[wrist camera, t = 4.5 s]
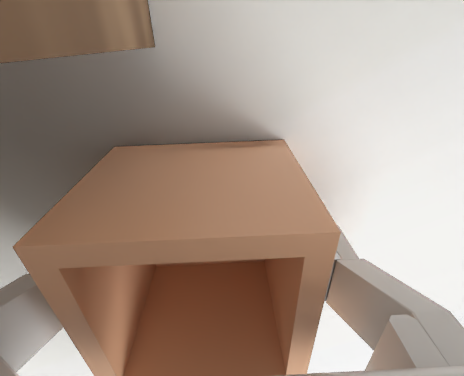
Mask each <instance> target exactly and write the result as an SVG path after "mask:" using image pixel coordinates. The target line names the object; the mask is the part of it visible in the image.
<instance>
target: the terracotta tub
mask: <svg viewBox="0 0 464 376" xmlns="http://www.w3.org/2000/svg"><path fill="white" fill-rule="evenodd" d="M340 234H341V231H340V230H339V228H338V227H337V225H336V223H335V222H334V220H333V218H332V217H331V215H330V214H329V212H328V210H327V209H326V207H325V205H324V204H323V202H322V201H321V199H320V197H319V196H318V194H317V192H316V191H315V189H314V188H313V186H312V184H311V183H310V181H309V179H308V178H307V176H306V175H305V173H304V171H303V170H302V168H301V166H300V165H299V163H298V162H297V160H296V158H295V157H294V155H293V153H292V152H291V150H290V149H289V147H288V145H287V144H286V142H285V140H265V141H240V142H216V143H191V144H167V145H142V146H118V147H114V148H113V149H112V150H110V151H109V152H108V153H107V154H106V155H105V156H104V157H103V158H102V159H101V160H100V161H99V162H98V163H97V164H96V165H95V166H94V167H93V168H92V169H91V170H90V171H89V172H88V173H87V174H86V175H85V176H84V177H83V178H82V179H81V180H80V181H79V182H78V183H77V184H76V185H75V186H74V187H73V188H72V189H71V190H70V191H69V192H68V193H67V194H66V195H65V196H64V197H63V198H62V199H61V200H60V201H59V202H58V203H57V204H56V205H55V206H54V207H53V208H52V209H51V210H50V211H48V212H47V213H46V214H45V215H44V216H43V217H42V218H41V219H40V220H39V221H38V222H37V223H36V224H35V225H34V226H33V227H32V228H31V229H30V230H29V231H28V232H27V233H26V234H25V235H24V236H23V237H22V238H21V239H20V240H19V241H18V242H17V243H16V244H15V245H14V246H13V249H14V250H15V252H16V253H17V255H18V257H19V258H20V260H21V261H22V263H23V264H24V266H25V268H26V269H27V271H28V272H29V274H30V275H31V277H32V279H33V280H34V282H35V283H36V285H37V286H38V288H39V290H40V291H41V293H42V294H43V296H44V297H45V299H46V301H47V302H48V304H49V305H50V307H51V308H52V310H53V312H54V313H55V315H56V316H57V318H58V319H59V321H60V323H61V324H62V326H63V327H64V329H65V330H66V332H67V334H68V335H69V337H70V338H71V340H72V341H73V343H74V345H75V346H76V348H77V349H78V351H79V352H80V354H81V356H82V357H83V359H84V360H85V362H86V363H87V365H88V367H89V368H90V370H91V371H92V373H93V374H94V376H271V375H292V374H307V370H308V366H309V362H310V357H311V353H312V349H313V345H314V341H315V337H316V333H317V329H318V324H319V320H320V316H321V312H322V308H323V304H324V300H325V296H326V292H327V287H328V283H329V279H330V275H331V271H332V267H333V263H334V259H335V254H336V250H337V246H338V242H339V238H340Z"/></svg>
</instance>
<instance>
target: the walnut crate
mask: <svg viewBox="0 0 464 376" xmlns="http://www.w3.org/2000/svg"><path fill="white" fill-rule="evenodd" d="M151 47H155V43H154V37H153V31H152V25H151V18H150V12H149V6H148V0H0V63H7V62H16V61H26V60H35V59H45V58H55V57H64V56H74V55H83V54H93V53H103V52H112V51H122V50H132V49H141V48H151Z"/></svg>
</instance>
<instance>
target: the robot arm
mask: <svg viewBox="0 0 464 376" xmlns="http://www.w3.org/2000/svg"><path fill="white" fill-rule="evenodd" d="M337 227H338V228H339V226H338V225H337ZM339 230H340V231H341V229H340V228H339ZM324 301H326V303H327V304H328V305H329V306H330V307H331V308H332V309H333V310H334V311H335V312H336V313H337V314H338V315H339V316H340V317H341V318H342V319H343V320H344V321H345V322H346V323H347V324H348V325H349V326H350V327H351V328H352V329H353V330H354V331H355V332H356V333H357V334H358V335H359V336H360V337H361V338H362V339H363V340H364V341H365V342H366V343H367V344H368V345H369V346H370V347H371V348H372V349H373V350H374V352H373V354H372V357H371V359H370V361H369V363H368V365H367V367H366V369H365V371H352V372H332V373H312V374H292V375H271V376H464V328H463V327H462V325H461V324H460V323H459V322H458V321H457V319H456V318H455V317H454V316H453V315H452V313H451V312H450V311H448V310H447V309H445V308H443V307H442V306H440V305H439V304H437V303H435V302H434V301H432V300H430V299H429V298H427V297H426V296H424V295H422V294H421V293H419V292H417V291H416V290H414V289H412V288H411V287H409V286H408V285H406V284H404V283H403V282H401V281H399V280H398V279H396V278H395V277H393V276H391V275H390V274H388V273H386V272H385V271H383V270H381V269H380V268H378V267H377V266H375V265H373V264H372V263H370V262H368V261H367V260H365V259H359V258H358V256H357V254H356V253H355V251H354V250H353V248H352V247H351V245H350V243H349V242H348V240H347V239H346V237H345V236H344V234H343V232H342V231H341V234H340V238H339V242H338V246H337V250H336V254H335V259H334V263H333V267H332V271H331V275H330V279H329V283H328V287H327V292H326V296H325V300H324ZM62 328H63V326H62V324H61V323H60V321H59V319H58V318H57V316H56V315H55V313H54V312H53V310H52V308H51V307H50V305H49V304H48V302H47V301H46V299H45V297H44V296H43V294H42V293H41V291H40V290H39V288H38V286H37V285H36V283H35V282H34V280H33V279H32V277H31V275H30V274H25V275H23V276H22V277H20V278H18V279H17V280H15V281H13V282H11V283H10V284H8V285H6V286H5V287H3V288H1V289H0V376H19V375H18V374H17V373H16V372H17V371H18V370H19V369H20V368H21V367H22V366H23V365H24V364H26V363H27V362H28V361H29V360H30V359H31V358H32V357H33V356H34V355H35V354H36V353H37V352H38V351H39V350H40V349H41V348H42V347H43V346H44V345H45V344H46V343H47V342H48V341H49V340H50V339H52V338H53V337H54V336H55V335H56V334H57V333H58V332H59V331H60V330H61V329H62Z"/></svg>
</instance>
